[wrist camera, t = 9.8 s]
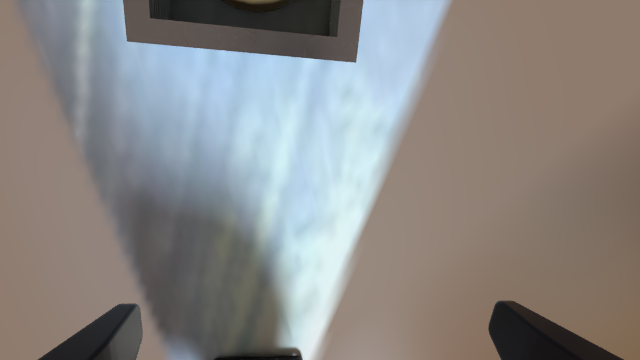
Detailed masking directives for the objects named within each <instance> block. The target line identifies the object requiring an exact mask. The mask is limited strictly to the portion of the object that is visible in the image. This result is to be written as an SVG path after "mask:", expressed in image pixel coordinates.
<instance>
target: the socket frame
mask: <svg viewBox="0 0 640 360" xmlns="http://www.w3.org/2000/svg"><path fill="white" fill-rule="evenodd" d="M123 3H124V14H125V25H126V36H127V41H128V42H139V43H150V44H161V45H172V46H182V47H193V48H204V49H215V50H226V51H237V52H248V53H258V54H269V55H280V56H291V57H302V58H313V59H323V60H334V61H345V62H356V58H357V50H358V41H359V32H360V24H361V15H362V7H363V0H332V1H331V13H330V24H329V35H328V36H320V35H310V34H300V33H290V32H281V31H271V30H261V29H251V28H241V27H231V26H222V25H212V24H202V23H192V22H182V21H172V20H170V5H169V0H123Z"/></svg>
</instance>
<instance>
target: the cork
mask: <svg viewBox="0 0 640 360" xmlns="http://www.w3.org/2000/svg"><path fill="white" fill-rule="evenodd" d="M223 1H225V2H226V3H228V4H230V5H231V6H233V7H235V8H237V9H241V10H245V11H250V12H255V13H257V12H265V11H273V10H276V9H278V8H280V7H282V6H283V5H285V4H287V3H289V2H291V1H292V0H223Z"/></svg>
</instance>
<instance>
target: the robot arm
mask: <svg viewBox="0 0 640 360" xmlns="http://www.w3.org/2000/svg"><path fill="white" fill-rule="evenodd" d="M489 334H490V337H491V339H492V341H493V343H494V345H495V347H496V349H497V352H498V354H499V356H500V358H501V360H623V359H622V358H620V357H618V356H616V355H614V354H612V353H610V352H608V351H606V350H604V349H603V348H601V347H599V346H597V345H595V344H593V343H591V342H589V341H588V340H586V339H584V338H582V337H580V336H578V335H576V334H575V333H573V332H571V331H569V330H567V329H565V328H563V327H561V326H559V325H558V324H556V323H554V322H552V321H550V320H548V319H546V318H545V317H543V316H541V315H539V314H537V313H535V312H533V311H531V310H529V309H527V308H526V307H524V306H522V305H520V304H518V303H516V302H514V301H498V302H497V303H496V304H495V306H494V309H493V312H492V315H491V319H490V322H489ZM141 341H142V323H141V314H140V307H139V305H137V304H119V305H117V306H115V307H114V308H112V309H111V310H109V311H108V312H106V313H105V314H103V315H102V316H101V317H99V318H98V319H96V320H95V321H93V322H92V323H90V324H89V325H87V326H86V327H85V328H83V329H82V330H80V331H79V332H77V333H76V334H74V335H73V336H72V337H70V338H68V339H67V340H66V341H64V342H63V343H61V344H60V345H58V346H57V347H55V348H54V349H53V350H51V351H50V352H48V353H47V354H45V355H44V356H42V357H41V358H39V359H38V360H136V357H137V354H138V351H139V347H140V344H141ZM215 360H303V359H302V357H300V356H272V357H233V358H217V359H215Z"/></svg>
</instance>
